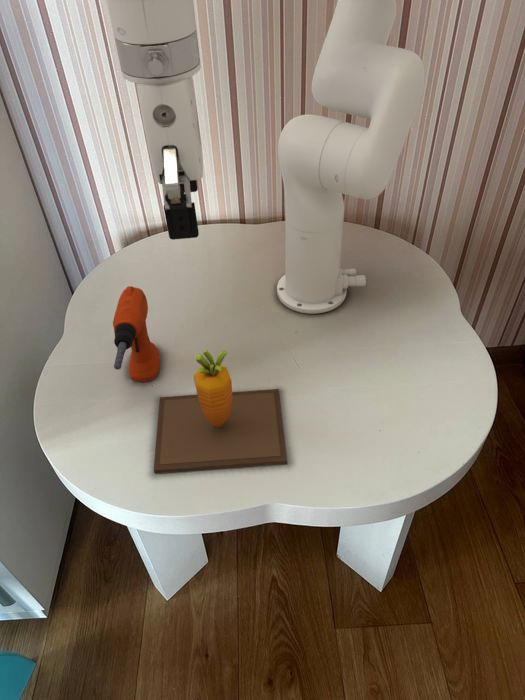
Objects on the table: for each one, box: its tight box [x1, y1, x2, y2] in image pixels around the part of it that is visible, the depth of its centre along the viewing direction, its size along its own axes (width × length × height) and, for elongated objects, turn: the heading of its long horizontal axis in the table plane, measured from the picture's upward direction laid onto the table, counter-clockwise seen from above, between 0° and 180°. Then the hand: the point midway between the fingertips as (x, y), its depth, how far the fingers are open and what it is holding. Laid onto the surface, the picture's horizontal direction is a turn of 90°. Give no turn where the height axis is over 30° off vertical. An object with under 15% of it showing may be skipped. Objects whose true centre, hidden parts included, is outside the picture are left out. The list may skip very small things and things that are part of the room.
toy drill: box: [112, 285, 161, 383], centre depth 82 cm, size 5×19×15 cm, turn 3°
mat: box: [153, 388, 288, 474], centre depth 81 cm, size 18×13×1 cm
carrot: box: [193, 349, 233, 428], centre depth 75 cm, size 5×5×15 cm
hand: (184, 213), depth 65 cm, fingers open, 9 cm apart
